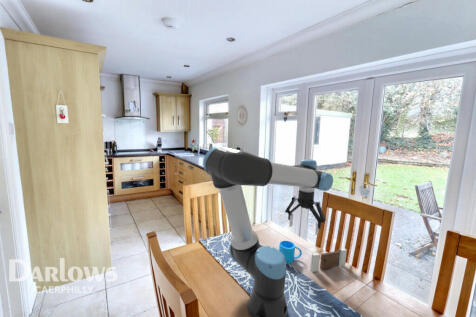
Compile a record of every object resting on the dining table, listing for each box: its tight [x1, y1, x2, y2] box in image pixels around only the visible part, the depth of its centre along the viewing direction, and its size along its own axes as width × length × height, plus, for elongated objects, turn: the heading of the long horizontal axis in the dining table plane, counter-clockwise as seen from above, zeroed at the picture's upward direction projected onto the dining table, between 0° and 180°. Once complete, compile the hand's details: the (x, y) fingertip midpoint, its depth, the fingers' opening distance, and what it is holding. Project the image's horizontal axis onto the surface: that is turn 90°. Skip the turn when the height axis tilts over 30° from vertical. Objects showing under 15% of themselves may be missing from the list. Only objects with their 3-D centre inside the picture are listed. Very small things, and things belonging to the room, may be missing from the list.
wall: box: [310, 248, 348, 273], centre depth 113 cm, size 2×20×10 cm, turn 108°
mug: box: [278, 240, 303, 264], centre depth 120 cm, size 12×8×8 cm
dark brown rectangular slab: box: [319, 250, 339, 271], centre depth 112 cm, size 2×10×8 cm, turn 108°
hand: (303, 229), depth 115 cm, fingers open, 13 cm apart
